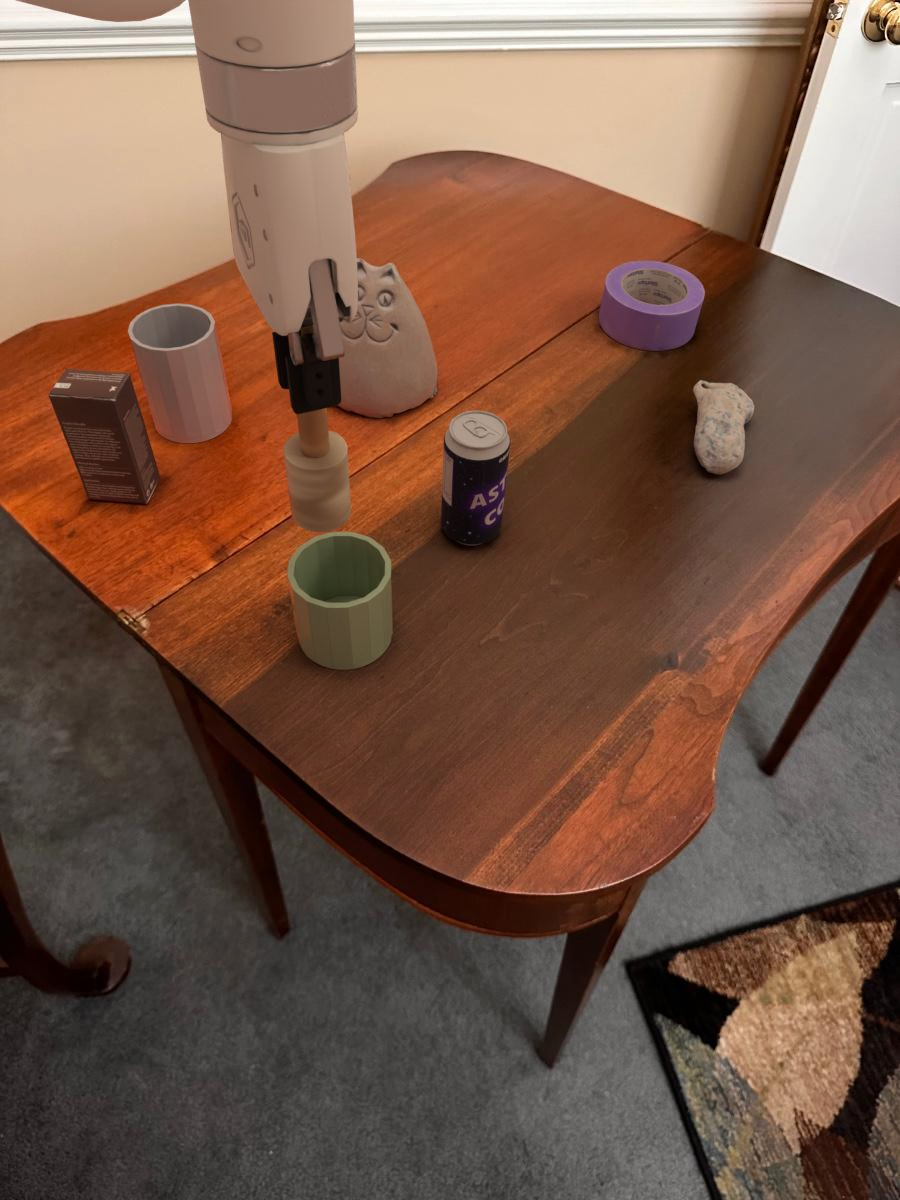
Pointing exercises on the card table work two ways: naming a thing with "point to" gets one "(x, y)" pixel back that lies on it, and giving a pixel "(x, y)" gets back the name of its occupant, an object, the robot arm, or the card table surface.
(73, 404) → the box
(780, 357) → the card table surface
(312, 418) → the bottle brush
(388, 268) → the sculpture
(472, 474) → the beverage can
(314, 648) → the brush holder
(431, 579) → the card table surface
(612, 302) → the tape roll
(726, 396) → the decorative stone
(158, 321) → the steel cup
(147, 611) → the card table surface
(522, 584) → the card table surface
